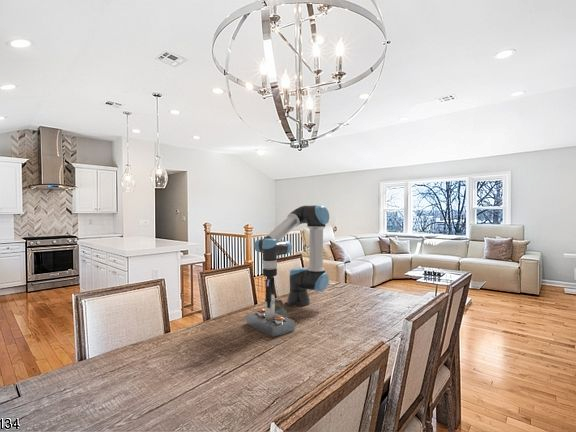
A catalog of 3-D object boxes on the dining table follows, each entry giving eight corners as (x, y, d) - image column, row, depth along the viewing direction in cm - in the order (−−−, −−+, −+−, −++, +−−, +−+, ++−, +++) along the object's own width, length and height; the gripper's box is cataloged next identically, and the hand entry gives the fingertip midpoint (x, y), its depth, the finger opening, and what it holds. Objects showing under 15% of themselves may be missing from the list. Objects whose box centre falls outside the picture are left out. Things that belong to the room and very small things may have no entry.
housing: (267, 318, 183) (267, 309, 183) (294, 330, 165) (294, 320, 164) (246, 323, 174) (246, 314, 174) (272, 337, 156) (272, 327, 156)
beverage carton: (273, 320, 179) (273, 309, 179) (269, 310, 198) (268, 299, 198) (287, 319, 181) (287, 308, 181) (281, 309, 200) (281, 299, 200)
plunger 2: (280, 327, 167) (280, 314, 167) (286, 330, 163) (286, 317, 163) (272, 329, 164) (272, 316, 163) (278, 332, 160) (278, 319, 159)
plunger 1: (262, 319, 179) (262, 307, 179) (268, 321, 175) (268, 309, 175) (254, 321, 176) (254, 309, 176) (260, 323, 172) (260, 311, 172)
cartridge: (266, 321, 172) (265, 292, 172) (275, 321, 172) (275, 292, 171) (264, 324, 167) (264, 294, 167) (274, 325, 167) (273, 294, 166)
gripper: (265, 264, 178) (266, 306, 179) (259, 271, 160) (259, 317, 161) (279, 265, 177) (279, 306, 178) (274, 271, 159) (274, 317, 160)
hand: (270, 311), depth 169 cm, fingers closed on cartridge, 5 cm apart
